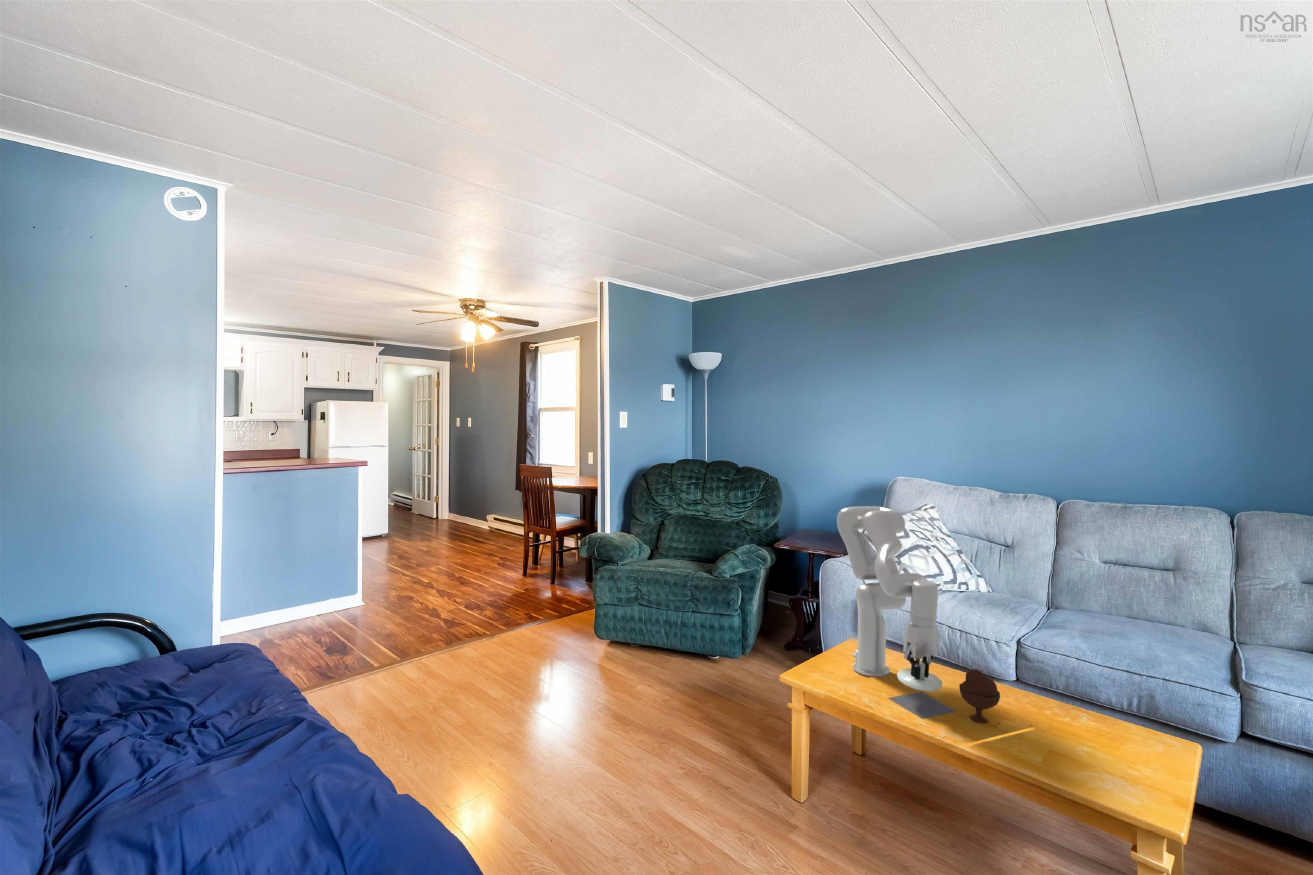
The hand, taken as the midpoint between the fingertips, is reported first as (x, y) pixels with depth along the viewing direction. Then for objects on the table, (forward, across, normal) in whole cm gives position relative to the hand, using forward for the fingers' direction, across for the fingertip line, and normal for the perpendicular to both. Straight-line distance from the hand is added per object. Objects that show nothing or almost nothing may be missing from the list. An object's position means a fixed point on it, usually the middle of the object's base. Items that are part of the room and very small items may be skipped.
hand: (919, 675), depth 184 cm
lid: (+2, 0, 0) cm, 2 cm away
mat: (+9, 0, +2) cm, 9 cm away
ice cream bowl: (+9, -9, +15) cm, 19 cm away
